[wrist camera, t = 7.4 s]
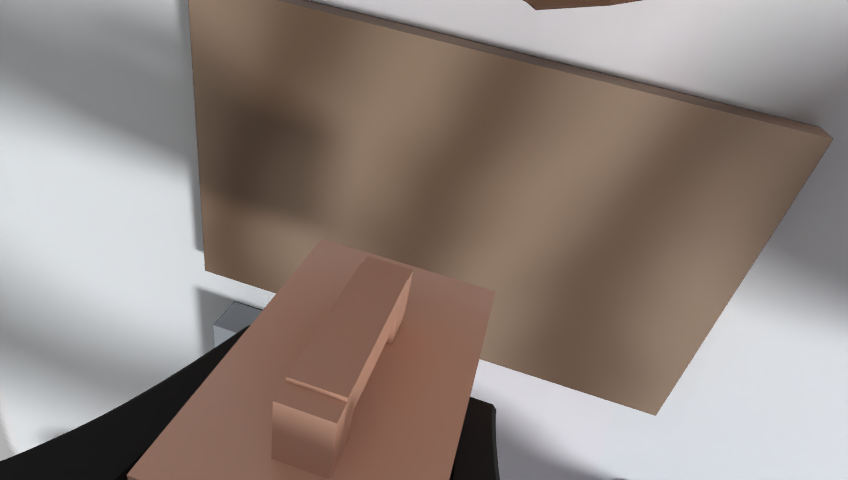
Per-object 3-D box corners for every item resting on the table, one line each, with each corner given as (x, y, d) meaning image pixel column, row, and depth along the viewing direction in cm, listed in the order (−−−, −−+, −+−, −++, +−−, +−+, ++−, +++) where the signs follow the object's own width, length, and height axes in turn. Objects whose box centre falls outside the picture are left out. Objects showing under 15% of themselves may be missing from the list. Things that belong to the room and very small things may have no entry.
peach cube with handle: (457, 411, 16) (380, 702, 10) (312, 362, 16) (158, 610, 10) (511, 241, 12) (443, 531, 7) (326, 187, 13) (111, 409, 7)
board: (820, 127, 16) (833, 139, 15) (653, 397, 22) (655, 415, 21) (205, -25, 18) (186, -23, 17) (218, 258, 25) (205, 270, 24)
